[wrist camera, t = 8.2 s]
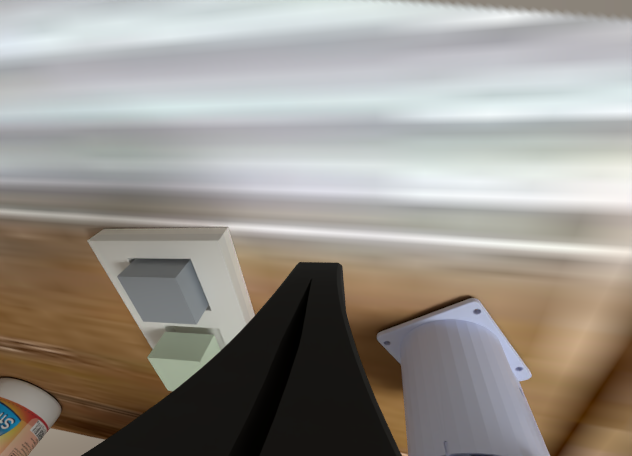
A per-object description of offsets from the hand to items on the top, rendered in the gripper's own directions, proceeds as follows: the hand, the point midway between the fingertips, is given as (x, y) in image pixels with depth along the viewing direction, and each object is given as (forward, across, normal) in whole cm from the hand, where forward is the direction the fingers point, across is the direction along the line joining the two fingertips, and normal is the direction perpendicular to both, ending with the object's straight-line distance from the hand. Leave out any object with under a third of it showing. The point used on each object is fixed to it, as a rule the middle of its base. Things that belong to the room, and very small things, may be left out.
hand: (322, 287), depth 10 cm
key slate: (+9, +13, +8) cm, 17 cm away
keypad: (+9, +13, +14) cm, 22 cm away
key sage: (+7, +13, +14) cm, 21 cm away
